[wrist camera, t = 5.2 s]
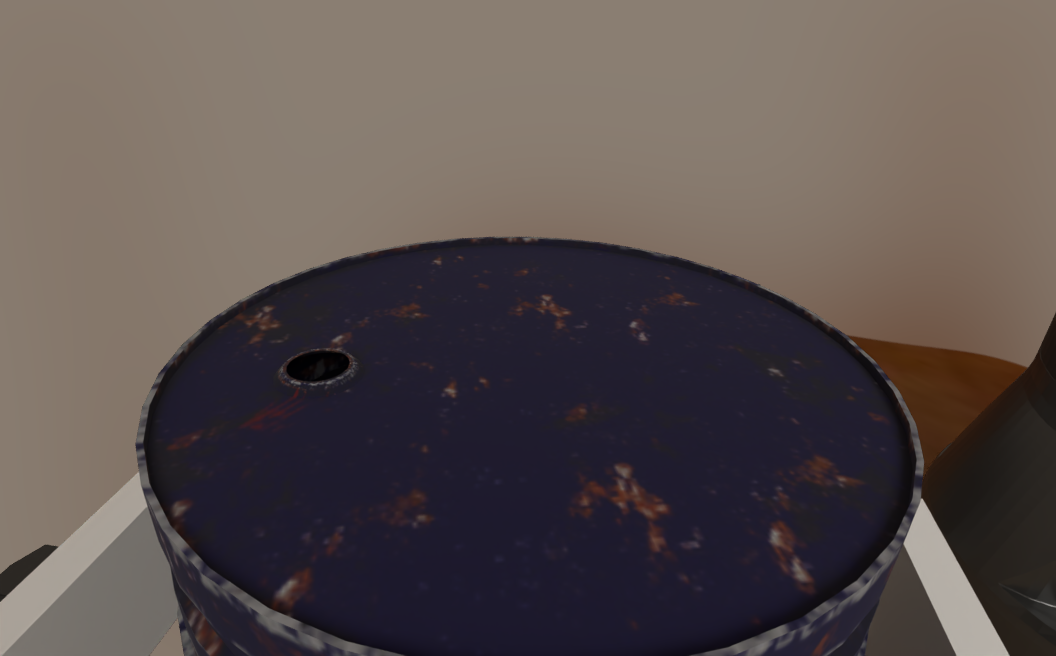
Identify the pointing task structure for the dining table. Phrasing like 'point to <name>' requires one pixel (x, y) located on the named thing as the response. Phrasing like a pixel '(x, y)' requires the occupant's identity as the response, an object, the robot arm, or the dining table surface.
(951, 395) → the dining table surface
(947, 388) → the dining table surface
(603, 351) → the dark blue ribbed cylinder
